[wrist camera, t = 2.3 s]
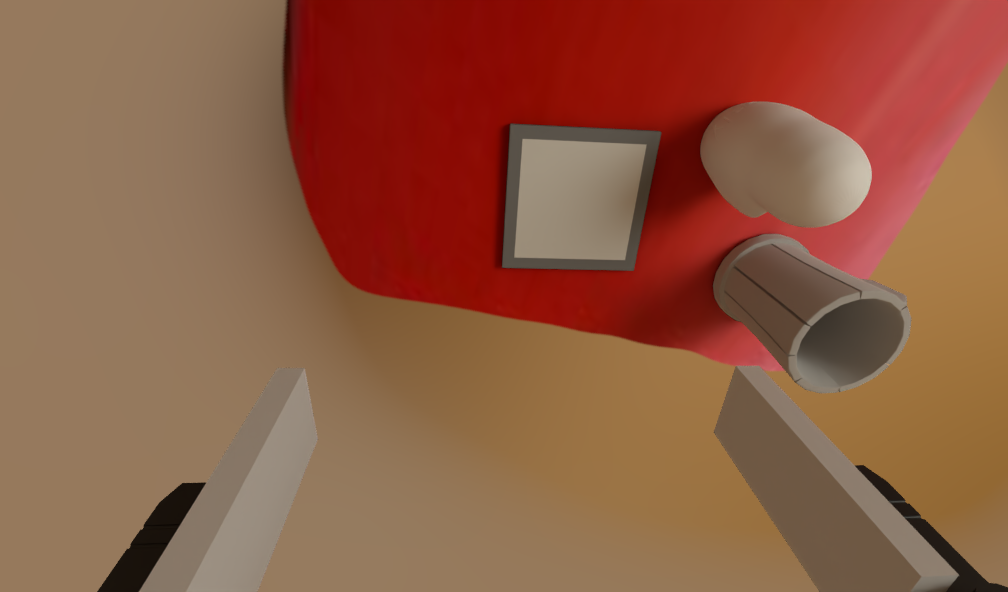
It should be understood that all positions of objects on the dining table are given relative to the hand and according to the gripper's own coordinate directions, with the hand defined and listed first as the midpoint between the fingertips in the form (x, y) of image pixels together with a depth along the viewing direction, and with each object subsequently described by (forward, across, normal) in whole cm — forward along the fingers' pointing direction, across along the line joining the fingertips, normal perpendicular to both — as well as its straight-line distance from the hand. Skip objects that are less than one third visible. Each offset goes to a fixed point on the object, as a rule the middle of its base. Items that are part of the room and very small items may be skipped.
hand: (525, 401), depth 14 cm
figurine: (+27, +20, +4) cm, 34 cm away
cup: (+27, +26, -7) cm, 38 cm away
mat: (+27, +7, -1) cm, 28 cm away
